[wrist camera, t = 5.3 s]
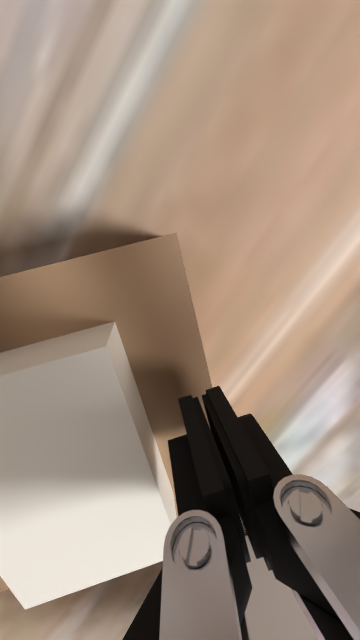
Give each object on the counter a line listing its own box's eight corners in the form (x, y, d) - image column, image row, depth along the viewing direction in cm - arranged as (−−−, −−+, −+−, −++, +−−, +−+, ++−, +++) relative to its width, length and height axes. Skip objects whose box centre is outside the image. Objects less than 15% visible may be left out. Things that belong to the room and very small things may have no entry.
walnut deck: (165, 237, 13) (176, 232, 9) (217, 450, 17) (240, 509, 13) (-151, 316, 11) (-296, 351, 8) (-9, 523, 16) (-57, 612, 12)
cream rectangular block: (114, 321, 9) (105, 346, 7) (173, 493, 12) (181, 554, 10) (-52, 366, 9) (-123, 410, 6) (49, 535, 12) (24, 609, 9)
